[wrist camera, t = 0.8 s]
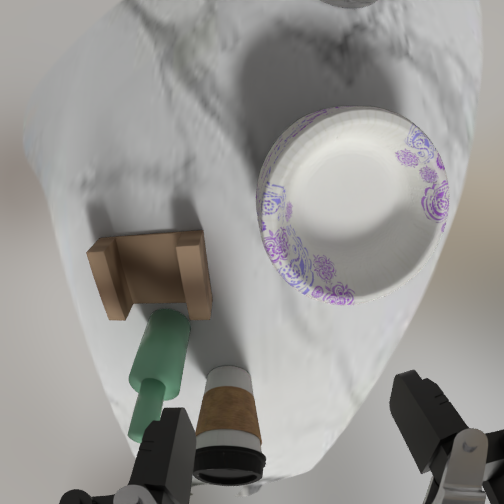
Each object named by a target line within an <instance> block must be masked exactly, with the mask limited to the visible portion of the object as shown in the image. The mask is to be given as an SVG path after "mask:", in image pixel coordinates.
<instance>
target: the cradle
mask: <svg viewBox="0 0 504 504" xmlns="http://www.w3.org/2000/svg"><path fill="white" fill-rule="evenodd" d="M86 253H87V257H88V260H89V263H90V267H91V270H92V273H93V276H94V279H95V282H96V285H97V288H98V291H99V294H100V297H101V300H102V302H103V305H104V308H105V310H106V313H107V316H108V318H109V320H126V318H127V316H128V314H129V312H130V310H131V308H132V306H133V304H138V303H186V304H187V309H188V313H189V318H190V320H210V316H211V308H212V301H213V299H212V292H211V285H210V278H209V271H208V263H207V256H206V248H205V240H204V232H203V230H197V231H183V232H168V233H155V234H142V235H129V236H117V237H105V238H99V239H98V240H97V242H96V243H95V244H94V245H93V246H92V247H91V248H90V249H89V250H88V251H87V252H86Z"/></svg>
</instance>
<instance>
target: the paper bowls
mask: <svg viewBox="0 0 504 504" xmlns="http://www.w3.org/2000/svg"><path fill="white" fill-rule="evenodd" d="M256 209H257V216H258V223H259V228H260V233H261V238H262V242H263V244H264V248H265V250H266V252H267V254H268V256H269V258H270V260H271V262H272V264H273V266H274V267H275V268H276V270H277V271H278V273H279V274H280V275H281V276H282V277H283V279H284V280H286V281H287V282H288V283H289V284H290V285H291V286H292V287H293V288H294V289H296V290H298V291H299V292H301V293H302V294H304V295H306V296H308V297H310V298H313V299H315V300H318V301H321V302H325V303H330V304H336V305H355V304H362V303H366V302H370V301H373V300H377V299H379V298H382V297H385V296H387V295H389V294H391V293H392V292H394V291H396V290H398V289H399V288H401V287H402V286H403V285H405V284H406V283H407V282H409V281H410V280H411V279H412V278H413V277H414V276H415V275H417V274H418V273H419V272H420V271H421V269H422V268H423V267H424V265H425V264H426V263H427V262H428V260H429V259H430V257H431V256H432V254H433V253H434V251H435V249H436V247H437V245H438V243H439V241H440V239H441V236H442V234H443V232H444V228H445V225H446V220H447V216H448V209H449V187H448V180H447V176H446V171H445V168H444V165H443V162H442V160H441V157H440V155H439V153H438V151H437V150H436V148H435V147H434V145H433V143H432V142H431V141H430V139H429V138H428V137H427V135H426V134H425V133H424V132H423V131H422V130H421V129H420V128H419V127H417V126H416V125H415V124H414V123H413V122H411V121H410V120H408V119H407V118H405V117H403V116H401V115H399V114H396V113H395V112H392V111H388V110H386V109H382V108H378V107H369V106H338V107H331V108H326V109H323V110H319V111H316V112H313V113H311V114H308V115H306V116H304V117H302V118H300V119H299V120H297V121H296V122H294V123H293V124H292V125H291V126H290V127H289V128H288V129H286V130H285V131H284V132H283V133H282V134H281V136H280V137H279V138H278V139H277V140H276V142H275V143H274V145H273V146H272V148H271V150H270V151H269V153H268V155H267V156H266V159H265V161H264V163H263V166H262V168H261V171H260V174H259V178H258V183H257V191H256Z"/></svg>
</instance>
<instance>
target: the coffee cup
mask: <svg viewBox="0 0 504 504" xmlns="http://www.w3.org/2000/svg"><path fill="white" fill-rule="evenodd" d="M195 434H196V441H197V444H196V452H195V460H194V467H193V476H194V477H195V478H197V479H198V480H200V481H203V482H205V483H209V484H214V485H222V486H239V485H247V484H251V483H254V482H256V481H258V480H260V479H261V478H262V475H263V468H264V467H265V464H266V462H265V461H266V457H265V455H264V454H262V452H261V444H262V440H261V435H260V429H259V423H258V418H257V412H256V406H255V400H254V396H253V388H252V381H251V376H250V375H249V373H248V372H247V371H245V370H244V369H242V368H239V367H236V366H221V367H217V368H215V369H213V370H212V371H211V372H210V373H209V374H208V377H207V381H206V386H205V392H204V396H203V400H202V405H201V409H200V414H199V418H198V423H197V428H196V432H195Z"/></svg>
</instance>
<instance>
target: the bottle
mask: <svg viewBox="0 0 504 504" xmlns="http://www.w3.org/2000/svg"><path fill="white" fill-rule="evenodd" d="M190 330H191V326H190V323H189V321H188V319H187V318H186V317H185V316H184V315H183V314H181V313H180V312H178V311H175V310H172V309H159V310H157V311H155V312H153V313H152V314H151V316H150V318H149V321H148V323H147V326H146V329H145V332H144V334H143V337H142V340H141V343H140V346H139V348H138V351H137V354H136V357H135V360H134V363H133V366H132V369H131V372H130V375H129V383H130V385H131V386H132V388H133V389H134V390H135V391H136V392H138V397H137V401H136V404H135V408H134V412H133V416H132V420H131V424H130V428H129V432H128V437H129V438H130V439H132V440H133V441H135V442H137V443H140V444H141V443H142V437H143V434H144V431H145V429H146V428H147V427H148V425H149V424H150V423H151V422H152V421H153V420H155V421H160V416H161V411H162V406H163V401H166V400H171V399H174V398H175V397H177V396H178V394H179V391H180V385H181V380H182V374H183V368H184V363H185V357H186V352H187V346H188V341H189V336H190Z"/></svg>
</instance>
